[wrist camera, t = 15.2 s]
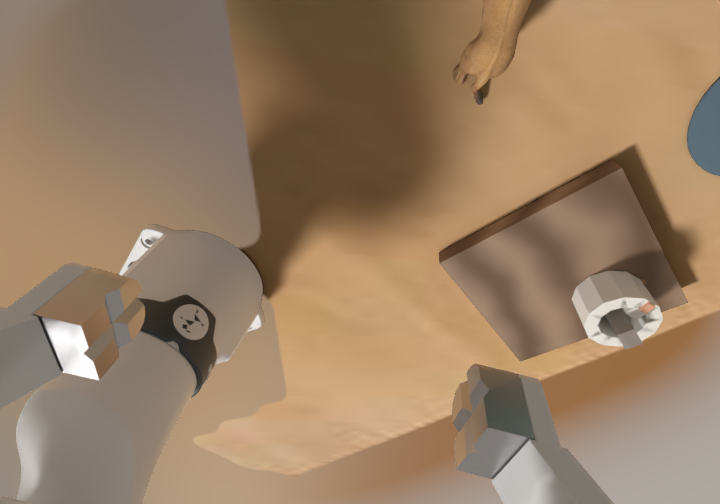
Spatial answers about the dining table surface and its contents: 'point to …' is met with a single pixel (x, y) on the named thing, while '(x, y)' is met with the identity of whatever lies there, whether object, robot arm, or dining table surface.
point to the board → (561, 262)
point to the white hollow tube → (615, 305)
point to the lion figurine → (492, 43)
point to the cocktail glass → (706, 131)
